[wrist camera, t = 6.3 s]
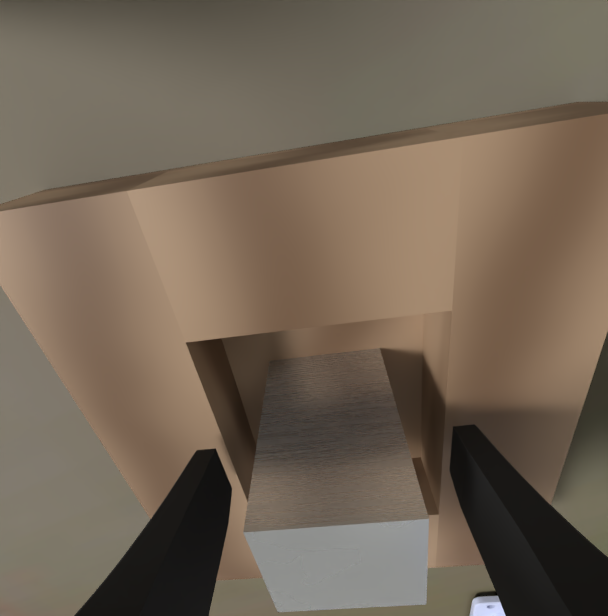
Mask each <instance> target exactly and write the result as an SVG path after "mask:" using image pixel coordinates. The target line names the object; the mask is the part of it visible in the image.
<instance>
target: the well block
mask: <svg viewBox="0 0 608 616" xmlns="http://www.w3.org/2000/svg"><path fill="white" fill-rule="evenodd" d="M0 285H1V287H2V288H3V290H4V291H5V293H6V295H7V296H8V298H9V299H10V301H11V302H12V304H13V305H14V307H15V309H16V310H17V312H18V313H19V315H20V316H21V318H22V319H23V321H24V323H25V324H26V326H27V327H28V329H29V330H30V332H31V334H32V335H33V337H34V338H35V340H36V341H37V343H38V344H39V346H40V348H41V349H42V351H43V352H44V354H45V355H46V357H47V358H48V360H49V362H50V363H51V365H52V366H53V368H54V369H55V371H56V372H57V374H58V376H59V377H60V379H61V380H62V382H63V383H64V385H65V386H66V388H67V390H68V391H69V393H70V394H71V396H72V397H73V399H74V400H75V402H76V404H77V405H78V407H79V408H80V410H81V411H82V413H83V415H84V416H85V418H86V419H87V421H88V422H89V424H90V425H91V427H92V429H93V430H94V432H95V433H96V435H97V436H98V438H99V439H100V441H101V443H102V444H103V446H104V447H105V449H106V450H107V452H108V453H109V455H110V457H111V458H112V460H113V461H114V463H115V464H116V466H117V467H118V469H119V471H120V472H121V474H122V475H123V477H124V478H125V480H126V481H127V483H128V485H129V486H130V488H131V489H132V491H133V492H134V494H135V496H136V497H137V499H138V500H139V502H140V503H141V505H142V506H143V508H144V510H145V511H146V513H147V514H148V516H149V517H150V519H151V518H152V517H153V515H154V514H155V512H156V511H157V509H158V508H159V506H160V505H161V503H162V502H163V501H164V499H165V498H166V496H167V495H168V493H169V492H170V490H171V489H172V487H173V485H174V484H175V482H176V481H177V479H178V478H179V476H180V475H181V473H182V472H183V470H184V469H185V467H186V465H187V464H188V462H189V461H190V459H191V458H192V456H193V455H194V453H195V452H196V451H197V450H204V449H215V448H216V450H217V453H218V455H219V458H220V460H221V462H222V465H223V467H224V470H225V472H226V475H227V477H228V480H229V482H230V484H231V487H232V496H231V506H230V515H229V523H228V528H227V533H226V538H225V542H224V547H223V552H222V556H221V561H220V565H219V570H218V574H217V579H216V580H233V579H250V578H263V577H262V575H261V572H260V570H259V568H258V565H257V563H256V561H255V559H254V556H253V554H252V552H251V549H250V547H249V545H248V543H247V540H246V538H245V536H244V533H243V530H244V524H245V517H246V511H247V504H248V498H249V492H250V485H251V479H252V472H253V466H254V459H255V453H256V446H257V440H258V433H259V427H260V420H261V414H262V407H263V401H264V394H265V388H266V382H267V375H268V369H269V362H270V361H273V360H281V359H290V358H298V357H307V356H315V355H324V354H332V353H341V352H350V351H358V350H367V349H375V348H380V351H381V354H382V358H383V361H384V365H385V368H386V371H387V375H388V378H389V382H390V385H391V389H392V392H393V396H394V399H395V403H396V406H397V410H398V413H399V417H400V420H401V424H402V427H403V430H404V434H405V437H406V441H407V444H408V448H409V451H410V455H411V458H412V462H413V465H414V469H415V472H416V476H417V479H418V483H419V486H420V489H421V493H422V496H423V500H424V503H425V507H426V510H427V514H428V517H429V534H428V565H427V568H435V567H451V566H468V565H485V564H484V562H483V559H482V557H481V555H480V552H479V550H478V548H477V545H476V543H475V541H474V538H473V536H472V533H471V531H470V529H469V526H468V524H467V522H466V519H465V517H464V514H463V512H462V509H461V507H460V504H459V501H458V497H457V494H456V491H455V488H454V485H453V481H452V478H451V475H450V471H449V469H450V457H451V444H452V432H453V426H463V425H473V424H475V425H476V426H477V427H478V428H479V429H480V430H481V431H482V432H483V434H484V435H485V436H486V437H487V438H488V439H489V440H490V442H491V443H492V444H493V445H494V446H495V447H496V448H497V450H498V451H499V452H500V453H501V454H502V455H503V456H504V457H505V458H506V459H507V461H508V462H509V463H510V464H511V465H512V466H513V467H514V468H515V469H516V470H517V471H518V472H519V473H520V474H521V476H522V477H523V478H524V479H525V480H526V481H527V482H528V483H529V484H530V485H531V486H532V487H533V488H534V489H535V490H536V491H537V492H538V493H539V494H540V495H541V496H542V497H543V498H544V499H545V500H546V501H547V502H548V503H549V504H550V505H551V503H552V500H553V497H554V493H555V490H556V487H557V484H558V481H559V478H560V475H561V472H562V469H563V466H564V463H565V460H566V457H567V454H568V451H569V448H570V445H571V442H572V439H573V435H574V432H575V429H576V426H577V423H578V420H579V417H580V414H581V411H582V408H583V405H584V402H585V399H586V396H587V393H588V390H589V387H590V384H591V381H592V377H593V374H594V371H595V368H596V365H597V362H598V359H599V356H600V353H601V350H602V347H603V344H604V341H605V338H606V335H607V332H608V102H575V103H569V104H563V105H557V106H551V107H545V108H539V109H533V110H527V111H521V112H515V113H509V114H503V115H496V116H490V117H484V118H478V119H472V120H466V121H460V122H454V123H448V124H442V125H436V126H430V127H424V128H418V129H412V130H405V131H399V132H393V133H387V134H381V135H375V136H369V137H363V138H357V139H351V140H345V141H339V142H333V143H327V144H321V145H314V146H308V147H302V148H296V149H290V150H284V151H278V152H272V153H266V154H260V155H254V156H248V157H242V158H236V159H230V160H223V161H217V162H211V163H205V164H199V165H193V166H187V167H181V168H175V169H169V170H163V171H157V172H151V173H145V174H139V175H132V176H126V177H120V178H114V179H108V180H102V181H96V182H90V183H84V184H78V185H72V186H66V187H60V188H54V189H48V190H43V191H40V192H37V193H34V194H31V195H28V196H24V197H21V198H18V199H15V200H12V201H9V202H6V203H3V204H0Z"/></svg>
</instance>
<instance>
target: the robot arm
mask: <svg viewBox="0 0 608 616" xmlns="http://www.w3.org/2000/svg"><path fill="white" fill-rule="evenodd" d="M449 471H450V475H451V478H452V481H453V485H454V488H455V491H456V494H457V497H458V501H459V504H460V507H461V509H462V512H463V514H464V517H465V519H466V522H467V524H468V526H469V529H470V531H471V533H472V536H473V538H474V541H475V543H476V545H477V548H478V550H479V552H480V555H481V557H482V559H483V562H484V564H485V566H486V569H487V571H488V574H489V576H490V578H491V581H492V583H493V585H494V588H495V590H496V592H497V596H480V597H476V598H474V599H473V601H472V606H471V611H470V616H608V557H607V556H606V555H604V554H603V553H602V552H601V551H600V550H599V549H598V548H596V547H595V546H594V545H593V544H592V543H591V542H590V541H589V540H587V539H586V538H585V537H584V536H583V535H582V534H581V533H580V532H579V531H578V530H576V529H575V528H574V527H573V526H572V525H571V524H570V523H569V522H568V521H567V520H566V519H565V518H564V517H563V516H562V515H561V514H559V513H558V512H557V511H556V510H555V509H554V508H553V507H552V506H551V505H550V504H549V503H548V502H547V501H546V500H545V499H544V498H543V497H542V496H541V495H540V494H539V493H538V492H537V491H536V490H535V489H534V488H533V487H532V486H531V485H530V484H529V483H528V482H527V481H526V480H525V479H524V478H523V477H522V476H521V474H520V473H519V472H518V471H517V470H516V469H515V468H514V467H513V466H512V465H511V464H510V463H509V462H508V461H507V459H506V458H505V457H504V456H503V455H502V454H501V453H500V452H499V451H498V450H497V448H496V447H495V446H494V445H493V444H492V443H491V442H490V440H489V439H488V438H487V437H486V436H485V435H484V434H483V432H482V431H481V430H480V429H479V428H478V427H477V426H476V425H475V424H473V425H463V426H453V432H452V444H451V457H450V469H449ZM231 496H232V487H231V484H230V482H229V480H228V477H227V475H226V472H225V470H224V467H223V465H222V462H221V460H220V458H219V455H218V453H217V450H216V448H215V449H204V450H197V451H196V452H195V453H194V455H193V456H192V458H191V459H190V461H189V462H188V464H187V465H186V467H185V469H184V470H183V472H182V473H181V475H180V476H179V478H178V479H177V481H176V482H175V484H174V485H173V487H172V489H171V490H170V492H169V493H168V495H167V496H166V498H165V499H164V501H163V502H162V503H161V505H160V506H159V508H158V509H157V511H156V512H155V514H154V515H153V517H152V518H151V519H150V521H149V522H148V524H147V525H146V527H145V528H144V529H143V531H142V532H141V533H140V535H139V536H138V537H137V539H136V540H135V541H134V543H133V544H132V546H131V547H130V548H129V550H128V551H127V552H126V554H125V555H124V556H123V558H122V559H121V560H120V562H119V563H118V564H117V565H116V567H115V568H114V569H113V570H112V572H111V573H110V574H109V575H108V577H107V578H106V579H105V580H104V582H103V583H102V584H101V585H100V586H99V588H98V589H97V590H96V591H95V592H94V594H93V595H92V596H91V597H90V598H89V600H88V601H87V602H86V603H85V604H84V605H83V606H82V608H81V609H80V610H79V611H78V612H77V613H76V614H75V615H74V616H209V610H210V606H211V601H212V597H213V592H214V588H215V583H216V579H217V574H218V570H219V565H220V561H221V556H222V552H223V547H224V542H225V538H226V533H227V528H228V523H229V515H230V506H231Z"/></svg>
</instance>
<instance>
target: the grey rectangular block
mask: <svg viewBox="0 0 608 616" xmlns="http://www.w3.org/2000/svg"><path fill="white" fill-rule="evenodd" d="M243 533H244V536H245V538H246V540H247V543H248V545H249V547H250V549H251V552H252V554H253V556H254V559H255V561H256V563H257V565H258V568H259V570H260V572H261V575H262V577H263V579H264V581H265V584H266V586H267V588H268V591H269V593H270V595H271V597H272V600H273V602H274V604H275V607H276V609H277V611H278V612H290V611H309V610H328V609H347V608H366V607H384V606H403V605H422V604H426V595H427V565H428V534H429V517H428V514H427V510H426V507H425V503H424V500H423V496H422V493H421V489H420V486H419V483H418V479H417V476H416V472H415V469H414V465H413V462H412V458H411V455H410V451H409V448H408V444H407V441H406V437H405V434H404V430H403V427H402V424H401V420H400V417H399V413H398V410H397V406H396V403H395V399H394V396H393V392H392V389H391V385H390V382H389V378H388V375H387V371H386V368H385V365H384V361H383V358H382V354H381V351H380V348H375V349H367V350H358V351H350V352H341V353H332V354H324V355H315V356H307V357H298V358H290V359H281V360H273V361H270V362H269V369H268V375H267V382H266V388H265V394H264V401H263V407H262V414H261V420H260V427H259V433H258V440H257V446H256V453H255V459H254V466H253V472H252V479H251V485H250V492H249V498H248V504H247V511H246V517H245V524H244V530H243Z"/></svg>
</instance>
